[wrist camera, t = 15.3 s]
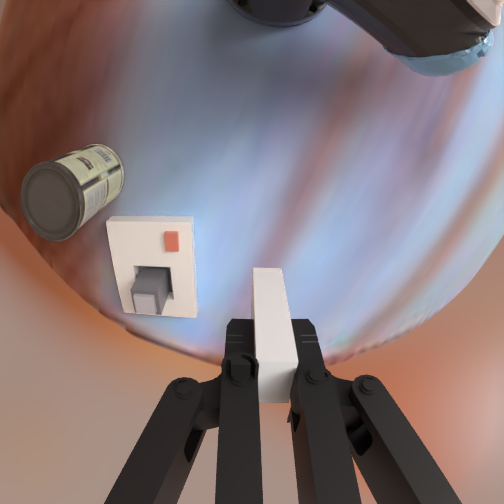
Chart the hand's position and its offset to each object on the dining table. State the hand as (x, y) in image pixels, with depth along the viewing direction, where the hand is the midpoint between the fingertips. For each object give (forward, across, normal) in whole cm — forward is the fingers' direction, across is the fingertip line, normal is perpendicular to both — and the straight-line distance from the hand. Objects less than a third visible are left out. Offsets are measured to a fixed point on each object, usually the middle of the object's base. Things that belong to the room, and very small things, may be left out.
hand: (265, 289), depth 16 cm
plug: (+29, -16, -18) cm, 38 cm away
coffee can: (+30, -25, 0) cm, 39 cm away
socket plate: (+29, -16, -16) cm, 37 cm away
